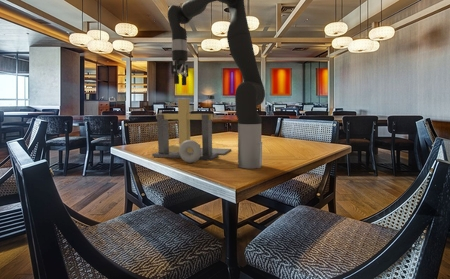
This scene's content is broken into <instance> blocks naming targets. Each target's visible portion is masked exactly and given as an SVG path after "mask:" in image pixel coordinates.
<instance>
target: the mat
mask: <svg viewBox="0 0 450 279" xmlns="http://www.w3.org/2000/svg"><path fill="white" fill-rule="evenodd" d="M231 151H232V149H231V148H218V147H217V148H216V147H215V148H214V147H212V153H218V156H224V155H226V154H229V152H231ZM201 152H202V147H201Z"/></svg>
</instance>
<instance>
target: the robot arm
mask: <svg viewBox="0 0 450 279" xmlns="http://www.w3.org/2000/svg"><path fill="white" fill-rule="evenodd" d="M213 2H220V3H222V4H224V5H226V6H227V7H228V11H229V16H230V23H229V25H228V28H227V32H226V33H227V34H226V38H227V39H226V40H227V45H228V49H229V53H230V55H231V57H232V60H233V61H234V62H235V65H236V66H237V67H238V69H239V71H240V74H241V76H242V80H243V81H242V82H240V83H239V84H238V86H236V90H235V95H234V96H235V97H234V98H235V100H234V102H235V103H234V104H235V115H236V118H237V167H238V168H241V169H246V170H247V169H249V170H250V169H261V167H262V165H263V141H262V122H263V121H262V116H261V115H260V114H259V112H258V110H257V108H258V106H261V105H262V104H263V102H264V101H265V97H266V90H265V86H264V83H263V80H262V79H261V78H262V77H261V74H260V71H259V68H258V65H257V59H256V56H255V55H256V54H255V51H254V46H253V45H254V44H253V40H252V36H251V32H250V29H249V24H248V18H247V14H246V6H245V0H186V1H185V2H183V4H181V6H178V5H174V4H173V5H170V6H169V8H168V9H167V19H168V24H169V28H170V29H171V30H170V31H171V62H170V63H171V65H170V66H171V67H170V68H171V75H172V76H173V80H174V82H173V83H174V84H175V85H179V84H180V76H181V85H182V86H186V85H187V78H188V77H189V65H188V64H186V62H187V61H188V60H189V58H188V56H189V55H188V51H189V50H188V42H187V40H188V37H187V36H188V35H187V30H186V28H184V27H182V25H186V24H188V23H189V22H190V21H191V20H192V19H193V18H195V17H196V16H198V15H200V14H202V13H203V12H204V11H205V10H206V8H207V6H208V4H209V5H210V4H211V3H213ZM179 75H180V76H179Z"/></svg>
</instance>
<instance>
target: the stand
mask: <svg viewBox="0 0 450 279" xmlns="http://www.w3.org/2000/svg"><path fill="white" fill-rule="evenodd" d="M156 114H157V119H156V120H157V122H156V124H157V146H158V151H157V152H154V153H152V154H151V157H152V156H154V157H153V158H162V157H169V158H168V159H179V158H181V156H180V153H179V152H170V151H169V146H170V140H169V139H170V137H169V135H170V134H169V119H164V118H163V114H164V113H156ZM201 114H202V120H201V137H202V139H201V140H202V141H201V142H202V143H201V145H202V147H201V148H202V152H201V156H200V158H199V159H198V160H201V161H212V160H215V159H216V158H217V157H218V156H219V155H218V153H212V148H213V119H212V120H209V114H210V113H201ZM187 153H188V154H189V155H193V153H194V152H193V153H190V152H187ZM181 160H183V159H182V158H181ZM198 160H197V161H198Z"/></svg>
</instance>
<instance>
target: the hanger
mask: <svg viewBox="0 0 450 279" xmlns="http://www.w3.org/2000/svg"><path fill="white" fill-rule="evenodd" d="M177 109H178V112H177V113H162V114H163V118H164V119H168V120H177V121H178V143H176V144H175V143H174V144H173V145H169V151H170V152H179V148H180V146H181V144H182V143H183V142H184V141H186V140H191V120H192V121H193V120H197V121H198V120H201V121H202V114H203V113H190V112H191V110H190V109H191V108H190V98H177ZM157 114H158V113H156V115H155V118H156V120H157ZM208 114H209V120H212V121H213V120H214V113H208ZM198 144H199V145H200V147H201V144H200V143H198ZM201 148H202V147H201ZM187 152H190V153H193V152H194V151H193V149H192V148H188V149H187Z"/></svg>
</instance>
